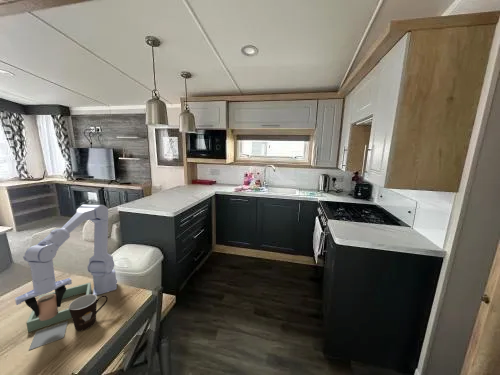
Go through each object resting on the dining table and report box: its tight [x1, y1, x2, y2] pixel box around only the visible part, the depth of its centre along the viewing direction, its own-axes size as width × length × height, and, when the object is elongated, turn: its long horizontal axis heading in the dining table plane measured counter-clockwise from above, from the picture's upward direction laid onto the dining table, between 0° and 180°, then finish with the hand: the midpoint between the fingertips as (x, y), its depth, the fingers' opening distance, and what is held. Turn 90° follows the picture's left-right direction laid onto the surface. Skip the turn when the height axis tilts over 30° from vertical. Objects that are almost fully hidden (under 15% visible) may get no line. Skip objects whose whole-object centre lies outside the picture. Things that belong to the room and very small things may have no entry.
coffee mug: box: [68, 293, 109, 332], centre depth 80 cm, size 12×9×10 cm
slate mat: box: [28, 320, 68, 351], centre depth 76 cm, size 9×9×1 cm
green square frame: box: [26, 281, 92, 333], centre depth 89 cm, size 18×18×4 cm
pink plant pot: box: [36, 293, 59, 321], centre depth 76 cm, size 5×5×7 cm
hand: (48, 310), depth 76 cm, fingers closed on pink plant pot, 5 cm apart
